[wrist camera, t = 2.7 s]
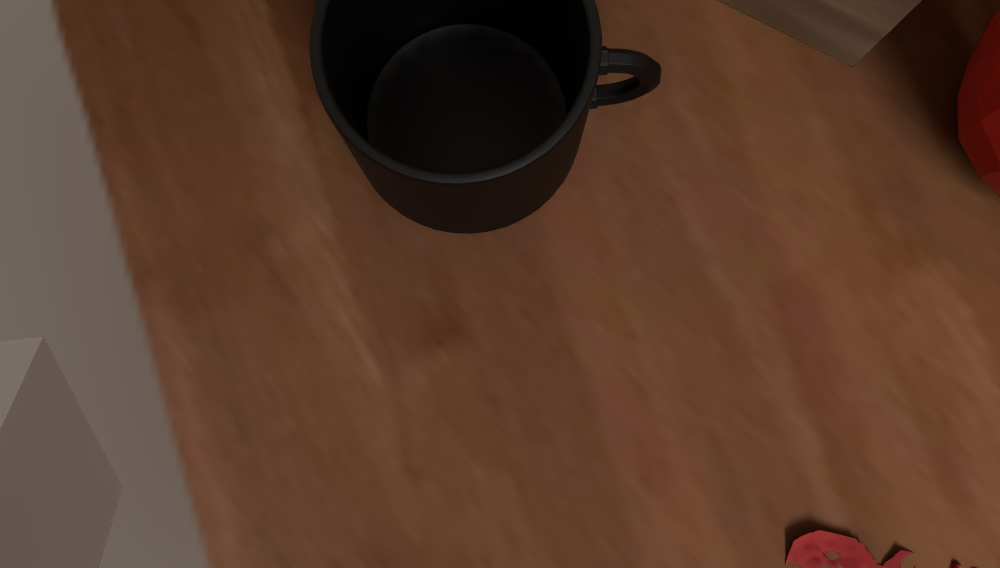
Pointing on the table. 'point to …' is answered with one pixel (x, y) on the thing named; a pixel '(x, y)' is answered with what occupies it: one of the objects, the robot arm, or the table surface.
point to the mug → (467, 99)
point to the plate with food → (838, 552)
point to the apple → (982, 106)
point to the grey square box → (830, 22)
